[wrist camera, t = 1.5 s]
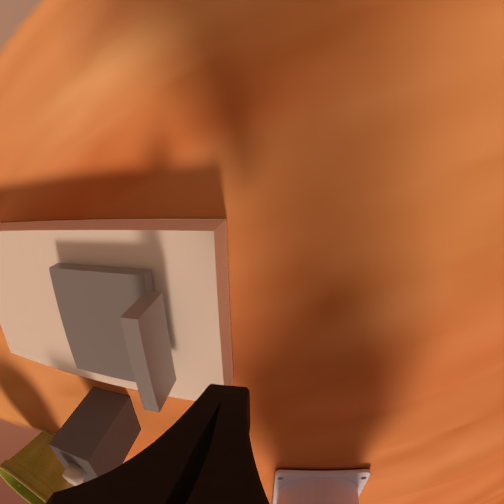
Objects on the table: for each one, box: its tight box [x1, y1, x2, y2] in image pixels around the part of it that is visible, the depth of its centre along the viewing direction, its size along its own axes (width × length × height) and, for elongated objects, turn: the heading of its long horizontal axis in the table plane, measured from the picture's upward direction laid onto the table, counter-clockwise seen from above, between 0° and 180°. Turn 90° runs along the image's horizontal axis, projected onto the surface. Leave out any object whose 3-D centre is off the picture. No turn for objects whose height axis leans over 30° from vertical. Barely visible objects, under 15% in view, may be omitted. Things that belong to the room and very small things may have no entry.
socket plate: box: [0, 219, 234, 401], centre depth 18 cm, size 10×18×2 cm, turn 91°
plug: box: [49, 387, 141, 486], centre depth 18 cm, size 4×4×8 cm
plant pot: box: [0, 432, 73, 504], centre depth 23 cm, size 9×9×9 cm
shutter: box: [49, 263, 176, 412], centre depth 14 cm, size 6×7×3 cm
